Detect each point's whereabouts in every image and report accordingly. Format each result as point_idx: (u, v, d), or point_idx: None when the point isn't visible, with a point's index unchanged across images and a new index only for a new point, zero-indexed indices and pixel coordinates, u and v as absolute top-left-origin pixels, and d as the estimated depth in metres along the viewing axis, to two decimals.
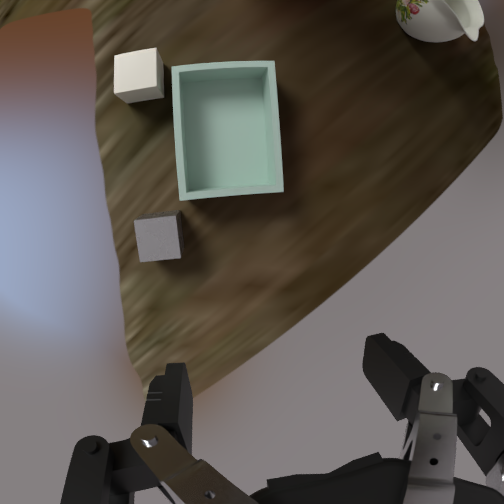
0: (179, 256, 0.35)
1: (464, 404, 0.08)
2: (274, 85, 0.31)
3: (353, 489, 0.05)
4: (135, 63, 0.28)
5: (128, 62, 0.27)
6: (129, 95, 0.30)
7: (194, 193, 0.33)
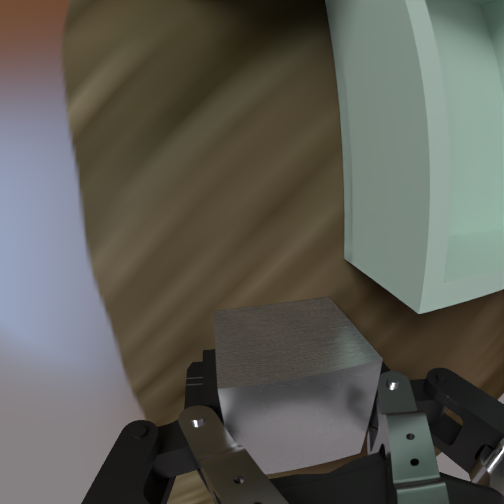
0: (357, 451, 0.10)
1: (423, 405, 0.08)
2: None
3: (353, 489, 0.05)
4: None
5: None
6: None
7: (462, 284, 0.07)
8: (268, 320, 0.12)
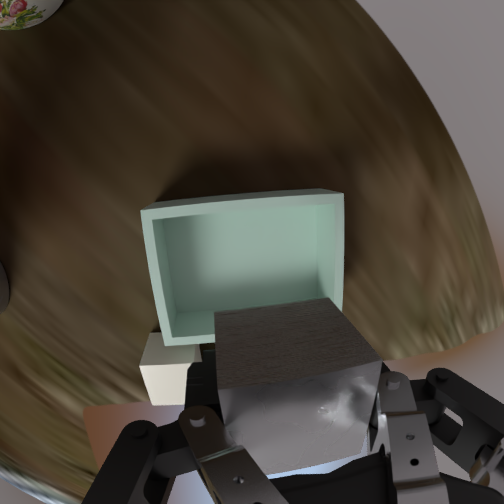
0: (357, 451, 0.10)
1: (423, 405, 0.08)
2: (182, 208, 0.22)
3: (353, 489, 0.05)
4: (162, 385, 0.25)
5: (161, 392, 0.26)
6: None
7: None
8: (268, 321, 0.12)
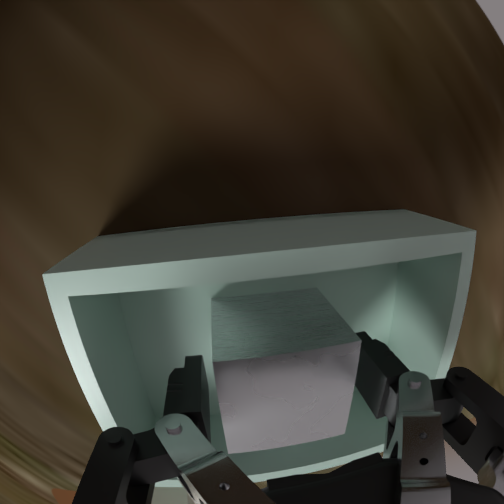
0: (342, 431, 0.11)
1: (443, 404, 0.08)
2: (131, 273, 0.08)
3: (353, 489, 0.05)
4: None
5: None
6: None
7: None
8: (260, 306, 0.13)
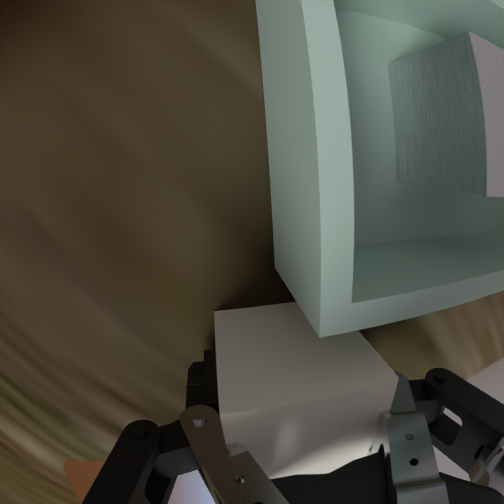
0: None
1: (422, 405, 0.08)
2: None
3: (353, 489, 0.05)
4: (283, 456, 0.08)
5: (273, 472, 0.08)
6: None
7: None
8: None
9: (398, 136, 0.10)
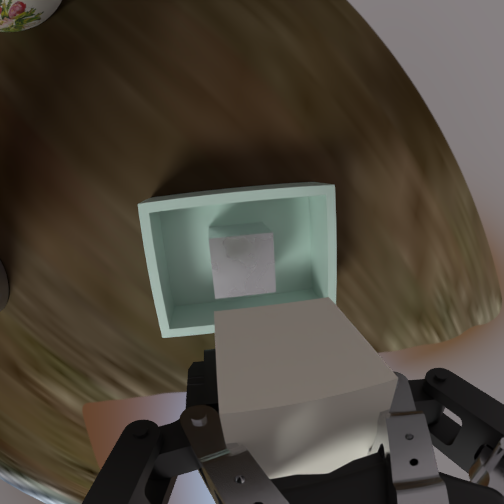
0: (274, 290, 0.25)
1: (422, 405, 0.08)
2: (178, 201, 0.23)
3: (353, 489, 0.05)
4: (283, 456, 0.08)
5: (273, 472, 0.08)
6: None
7: None
8: (231, 227, 0.27)
9: None
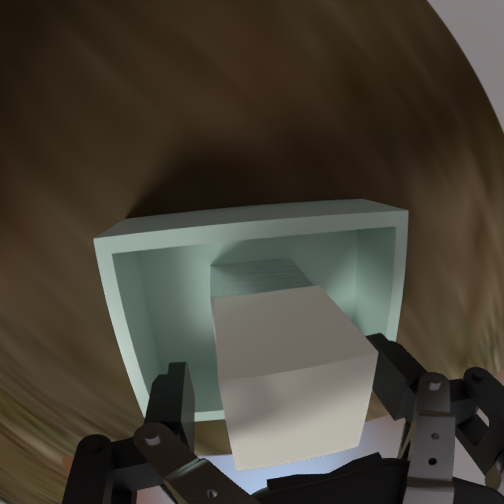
0: None
1: (461, 404, 0.08)
2: (158, 235, 0.13)
3: (353, 489, 0.05)
4: (276, 425, 0.09)
5: (267, 442, 0.09)
6: None
7: None
8: (246, 269, 0.18)
9: None
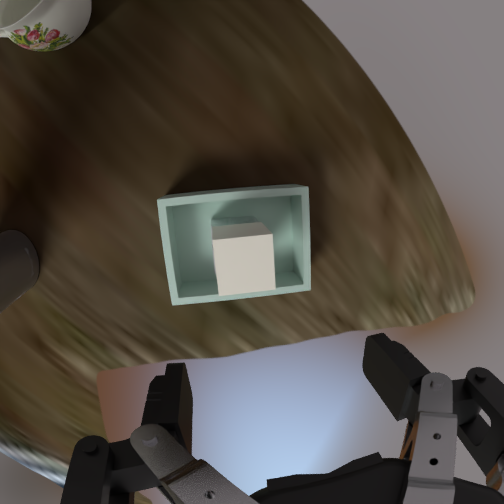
0: None
1: (464, 404, 0.08)
2: (188, 198, 0.30)
3: (353, 489, 0.05)
4: (234, 265, 0.26)
5: (231, 275, 0.26)
6: None
7: (305, 276, 0.34)
8: (228, 219, 0.35)
9: None
